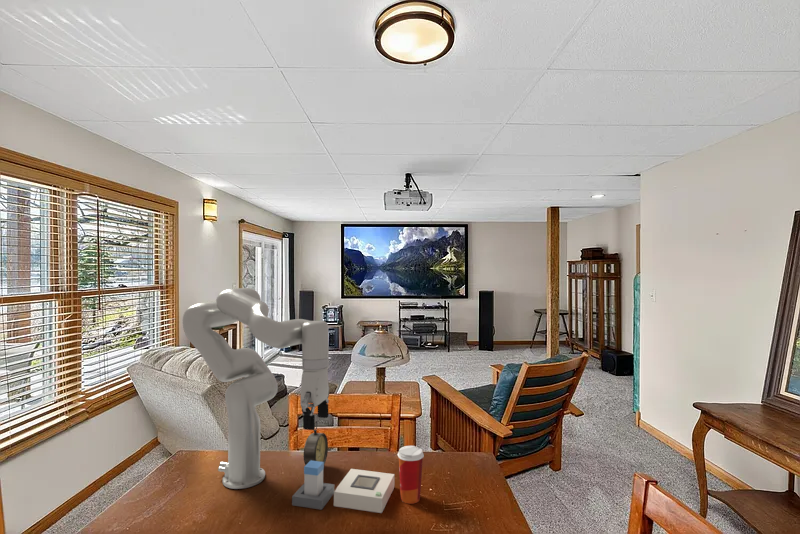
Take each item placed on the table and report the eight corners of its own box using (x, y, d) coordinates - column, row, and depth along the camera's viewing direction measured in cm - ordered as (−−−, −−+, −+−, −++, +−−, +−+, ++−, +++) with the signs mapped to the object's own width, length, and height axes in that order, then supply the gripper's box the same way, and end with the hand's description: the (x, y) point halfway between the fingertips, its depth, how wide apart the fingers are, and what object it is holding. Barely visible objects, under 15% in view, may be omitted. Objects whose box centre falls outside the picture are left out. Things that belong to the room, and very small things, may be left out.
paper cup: (410, 488, 128) (410, 442, 128) (429, 498, 123) (429, 450, 123) (391, 498, 123) (391, 450, 123) (410, 509, 117) (410, 458, 117)
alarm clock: (316, 479, 133) (316, 427, 133) (300, 477, 135) (300, 426, 135) (328, 463, 144) (329, 416, 144) (313, 462, 145) (314, 414, 145)
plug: (303, 501, 121) (304, 466, 121) (310, 494, 125) (310, 460, 125) (317, 503, 120) (317, 468, 120) (323, 496, 124) (323, 461, 124)
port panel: (333, 505, 119) (333, 489, 119) (350, 481, 132) (351, 467, 132) (381, 513, 115) (381, 496, 115) (394, 487, 129) (394, 472, 129)
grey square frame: (292, 505, 119) (292, 496, 119) (306, 488, 128) (306, 480, 128) (321, 509, 117) (321, 500, 117) (334, 492, 125) (334, 484, 125)
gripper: (315, 357, 132) (316, 412, 132) (289, 370, 115) (290, 433, 115) (338, 358, 130) (339, 414, 130) (315, 371, 113) (316, 435, 113)
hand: (316, 423), depth 122 cm, fingers open, 9 cm apart
